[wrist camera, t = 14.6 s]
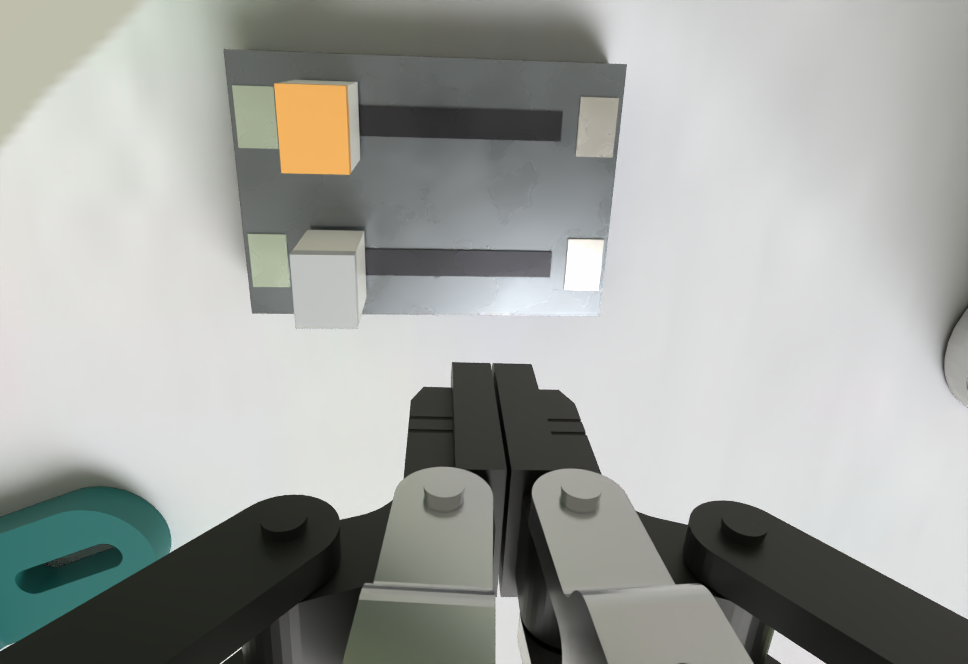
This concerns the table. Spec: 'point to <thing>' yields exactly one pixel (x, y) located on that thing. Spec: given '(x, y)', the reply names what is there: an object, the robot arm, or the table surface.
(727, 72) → the table surface
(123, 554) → the bracket
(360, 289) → the block
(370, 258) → the panel
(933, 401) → the table surface
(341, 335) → the table surface
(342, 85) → the block
